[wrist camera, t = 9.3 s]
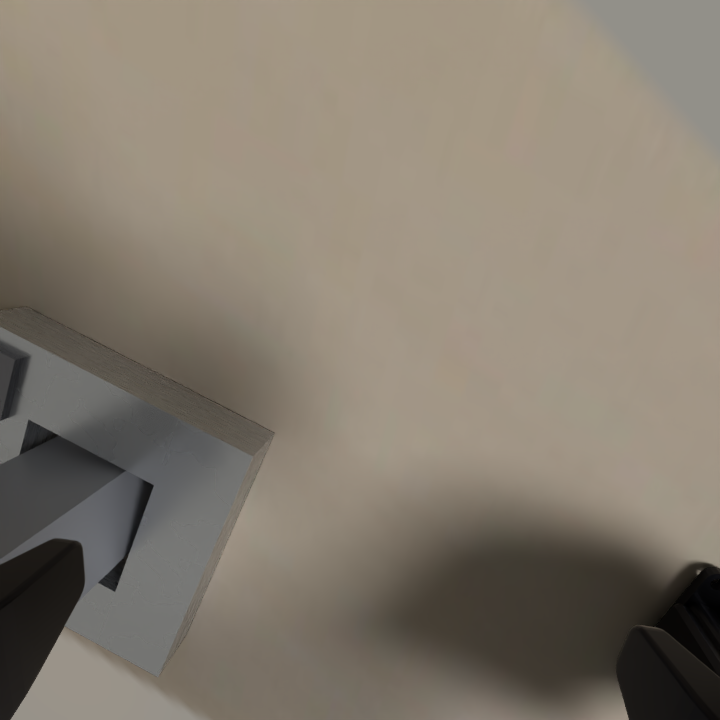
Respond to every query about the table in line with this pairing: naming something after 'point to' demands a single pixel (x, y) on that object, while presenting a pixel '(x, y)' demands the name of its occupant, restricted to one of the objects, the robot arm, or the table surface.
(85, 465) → the plug
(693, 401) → the table surface
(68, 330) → the socket
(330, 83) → the table surface
